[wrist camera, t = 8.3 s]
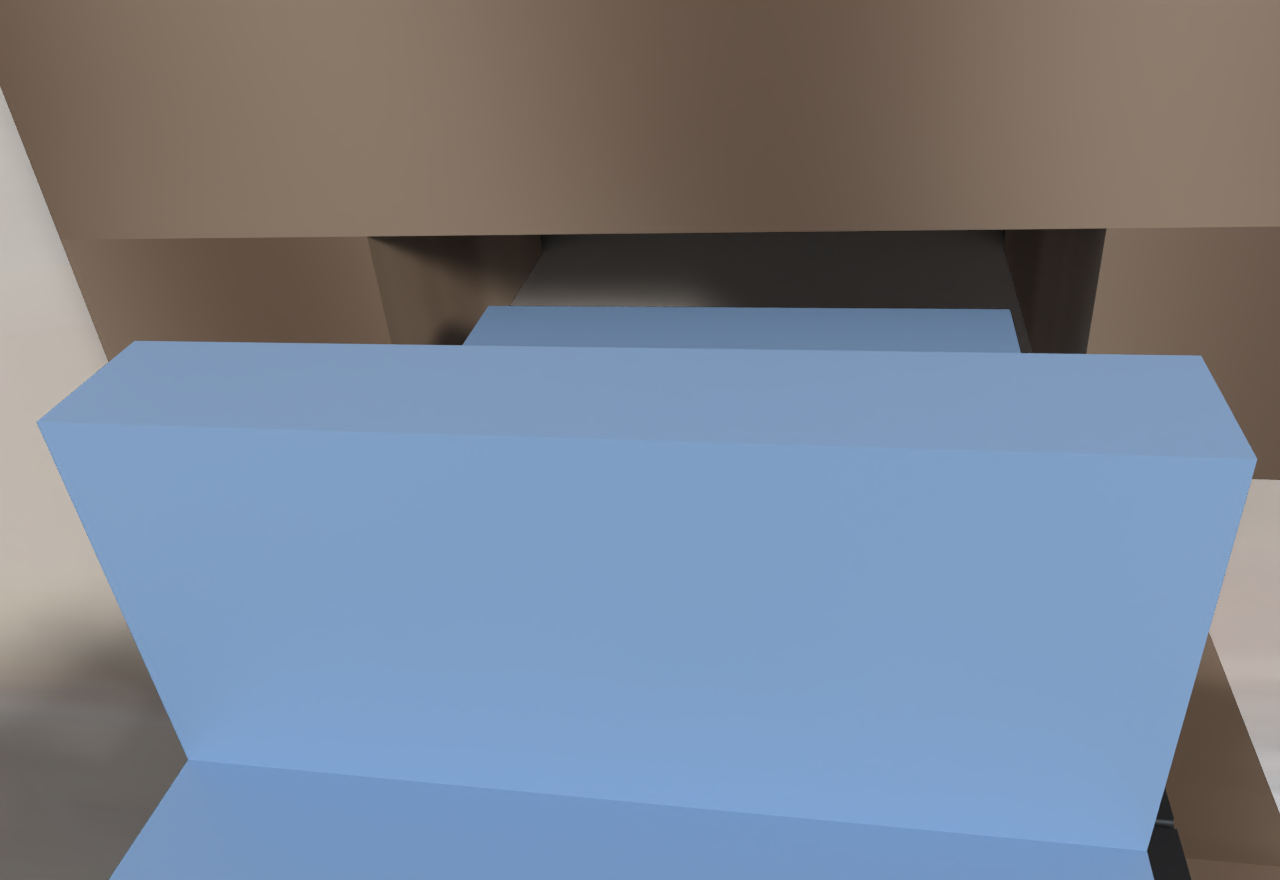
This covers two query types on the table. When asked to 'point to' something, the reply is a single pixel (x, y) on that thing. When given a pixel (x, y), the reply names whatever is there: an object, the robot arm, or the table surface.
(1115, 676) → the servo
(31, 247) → the table surface
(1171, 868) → the robot arm
